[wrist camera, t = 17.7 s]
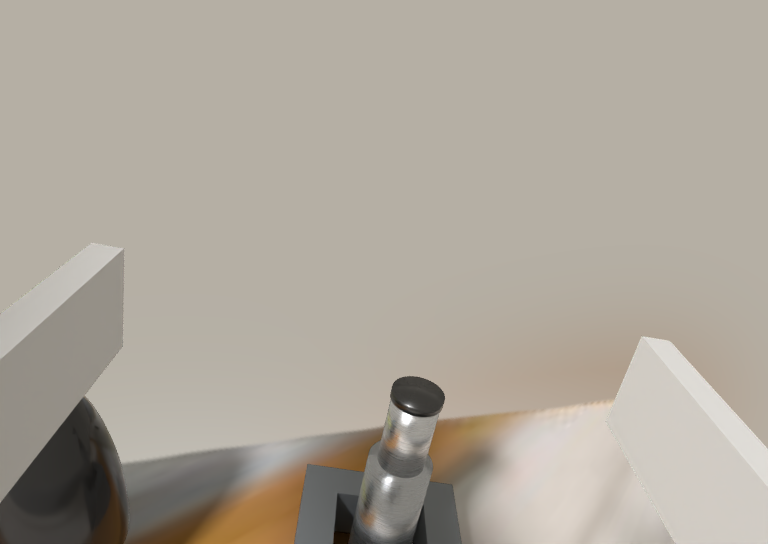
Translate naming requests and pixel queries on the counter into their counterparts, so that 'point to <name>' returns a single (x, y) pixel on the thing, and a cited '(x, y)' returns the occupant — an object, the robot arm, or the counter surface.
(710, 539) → the robot arm
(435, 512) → the socket block
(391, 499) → the tube
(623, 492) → the counter surface
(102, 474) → the dark grey egg shape
